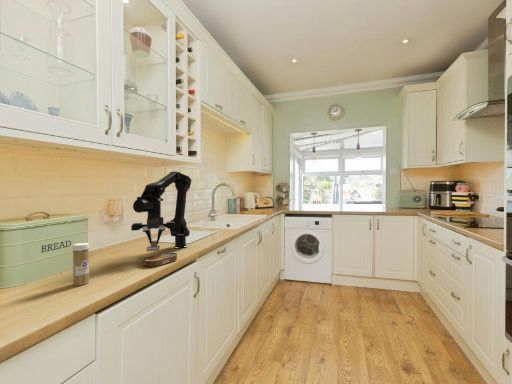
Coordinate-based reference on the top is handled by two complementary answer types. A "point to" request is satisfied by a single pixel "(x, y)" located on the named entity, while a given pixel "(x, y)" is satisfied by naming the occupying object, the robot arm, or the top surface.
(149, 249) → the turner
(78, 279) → the sprinkles bottle
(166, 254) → the tin
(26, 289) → the top surface
